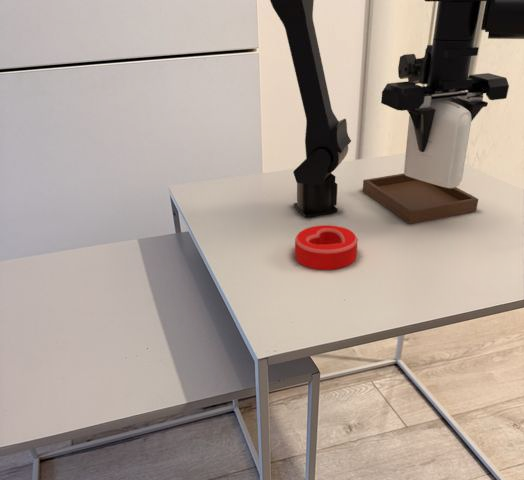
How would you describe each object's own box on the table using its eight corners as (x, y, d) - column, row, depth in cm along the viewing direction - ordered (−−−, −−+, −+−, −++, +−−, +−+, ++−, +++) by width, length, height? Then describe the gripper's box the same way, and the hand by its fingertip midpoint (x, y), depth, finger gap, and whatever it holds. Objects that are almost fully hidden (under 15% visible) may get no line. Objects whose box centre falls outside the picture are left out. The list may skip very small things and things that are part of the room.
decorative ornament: (350, 272, 80) (352, 253, 78) (288, 266, 83) (288, 247, 81) (360, 245, 87) (362, 226, 85) (303, 239, 90) (303, 221, 88)
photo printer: (399, 176, 92) (406, 98, 85) (416, 170, 94) (425, 93, 87) (447, 191, 85) (461, 108, 78) (465, 185, 87) (479, 103, 80)
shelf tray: (409, 224, 93) (411, 211, 92) (362, 191, 107) (363, 179, 105) (476, 211, 96) (478, 199, 95) (422, 181, 110) (423, 169, 109)
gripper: (475, 28, 85) (457, 130, 95) (369, 36, 81) (361, 143, 91) (522, 35, 77) (497, 147, 86) (406, 46, 73) (393, 162, 82)
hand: (436, 149), depth 86 cm, fingers closed on photo printer, 5 cm apart
